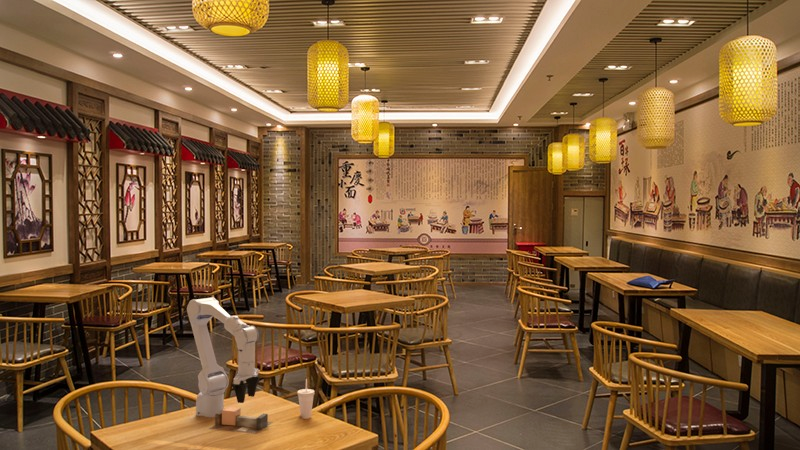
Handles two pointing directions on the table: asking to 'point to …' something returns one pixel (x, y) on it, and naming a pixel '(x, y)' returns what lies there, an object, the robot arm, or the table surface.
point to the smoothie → (305, 402)
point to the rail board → (231, 427)
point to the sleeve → (230, 415)
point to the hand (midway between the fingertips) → (246, 399)
